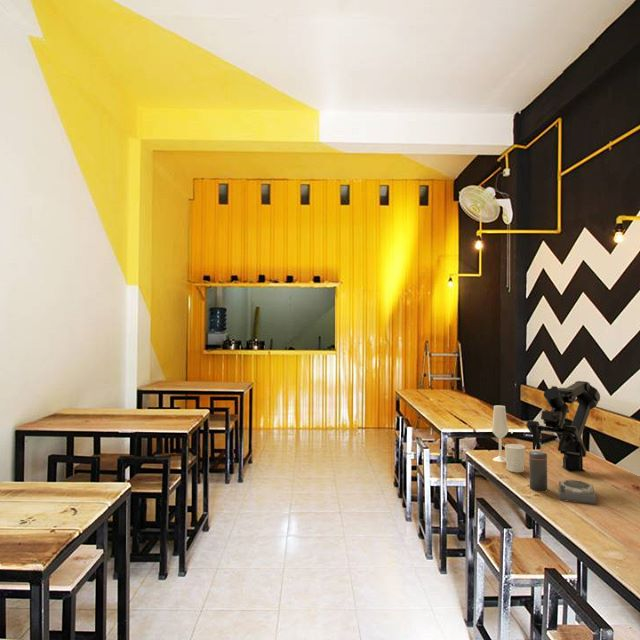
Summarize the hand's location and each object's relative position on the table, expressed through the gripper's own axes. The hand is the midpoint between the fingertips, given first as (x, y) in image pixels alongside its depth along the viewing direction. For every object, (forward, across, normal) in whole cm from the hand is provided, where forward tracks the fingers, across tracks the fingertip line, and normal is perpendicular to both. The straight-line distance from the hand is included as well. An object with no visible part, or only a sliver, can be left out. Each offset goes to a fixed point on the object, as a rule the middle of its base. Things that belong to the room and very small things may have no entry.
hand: (546, 448), depth 189 cm
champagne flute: (-2, -28, +22) cm, 36 cm away
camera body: (+14, +13, +5) cm, 20 cm away
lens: (+15, 0, +4) cm, 16 cm away
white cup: (+4, -16, +15) cm, 23 cm away
